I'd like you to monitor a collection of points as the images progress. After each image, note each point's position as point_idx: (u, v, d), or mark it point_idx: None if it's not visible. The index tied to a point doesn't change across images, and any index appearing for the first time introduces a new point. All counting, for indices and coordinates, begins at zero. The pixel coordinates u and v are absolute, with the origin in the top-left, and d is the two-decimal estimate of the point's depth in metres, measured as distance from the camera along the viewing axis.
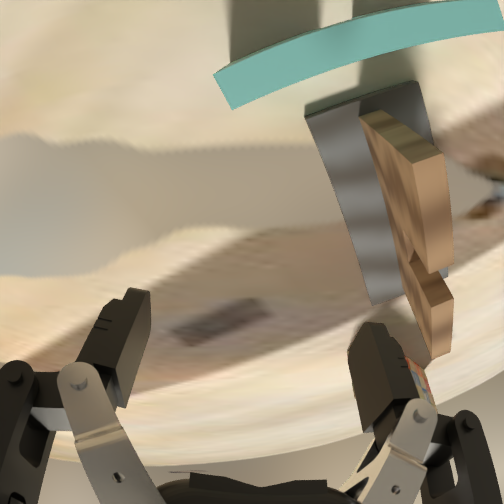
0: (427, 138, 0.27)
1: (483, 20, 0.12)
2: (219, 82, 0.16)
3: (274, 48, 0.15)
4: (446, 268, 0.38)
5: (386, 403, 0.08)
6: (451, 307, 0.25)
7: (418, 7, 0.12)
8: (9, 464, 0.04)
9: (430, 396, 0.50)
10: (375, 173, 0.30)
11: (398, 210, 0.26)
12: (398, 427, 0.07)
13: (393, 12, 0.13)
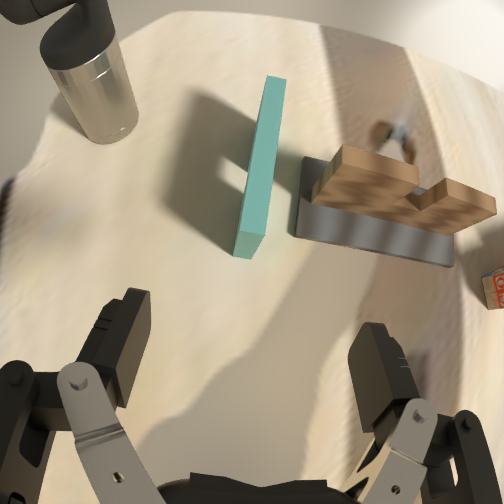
0: None
1: (277, 89, 0.34)
2: (245, 230, 0.30)
3: (246, 194, 0.31)
4: None
5: (386, 403, 0.08)
6: (453, 181, 0.33)
7: (259, 118, 0.33)
8: (9, 464, 0.04)
9: None
10: (353, 213, 0.43)
11: (378, 200, 0.38)
12: (398, 427, 0.07)
13: (257, 132, 0.32)
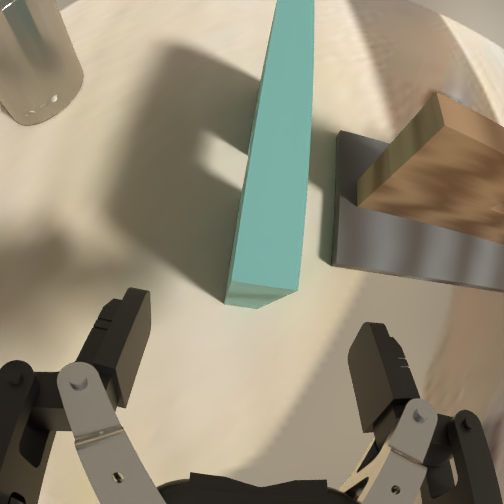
0: None
1: (301, 3, 0.16)
2: (248, 279, 0.11)
3: (247, 185, 0.12)
4: None
5: (386, 403, 0.08)
6: None
7: (272, 39, 0.14)
8: (9, 464, 0.04)
9: None
10: (420, 223, 0.25)
11: (470, 203, 0.20)
12: (398, 427, 0.07)
13: (269, 59, 0.14)
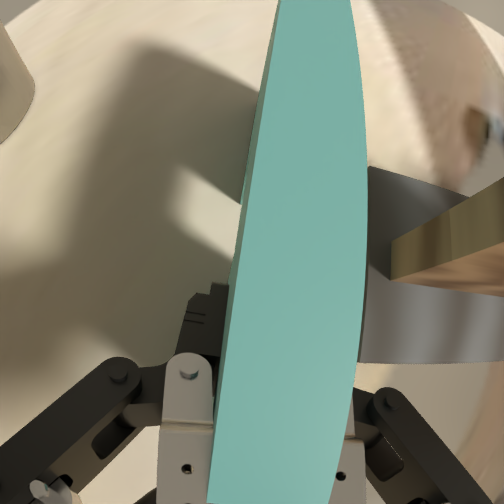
0: (442, 195, 0.19)
1: None
2: None
3: (223, 408, 0.05)
4: None
5: None
6: None
7: (279, 28, 0.07)
8: (73, 451, 0.05)
9: None
10: (464, 293, 0.18)
11: None
12: None
13: (273, 68, 0.07)
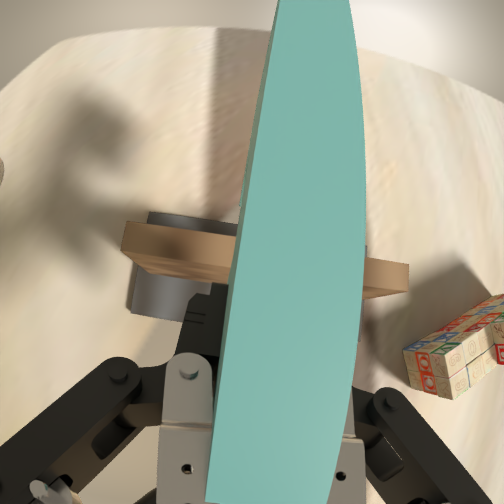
0: (198, 223, 0.37)
1: None
2: None
3: (220, 413, 0.05)
4: None
5: None
6: None
7: (277, 31, 0.07)
8: (74, 451, 0.05)
9: None
10: (204, 283, 0.35)
11: (216, 277, 0.30)
12: None
13: (272, 71, 0.07)
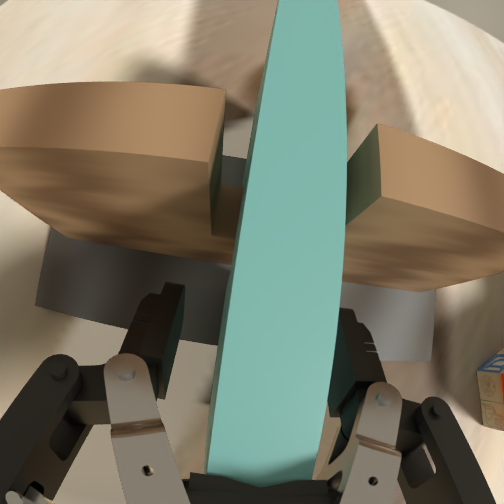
0: None
1: (317, 1, 0.10)
2: None
3: (218, 413, 0.06)
4: None
5: (349, 386, 0.09)
6: (415, 140, 0.08)
7: (270, 65, 0.08)
8: (35, 455, 0.05)
9: None
10: (156, 254, 0.19)
11: (161, 228, 0.13)
12: (363, 415, 0.07)
13: (264, 109, 0.08)
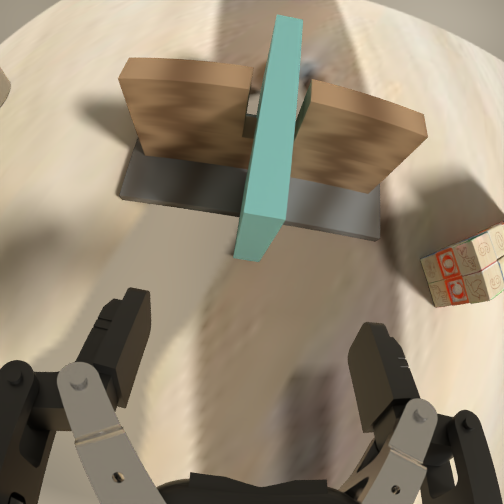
0: None
1: (292, 29, 0.22)
2: (254, 212, 0.18)
3: (253, 157, 0.19)
4: None
5: (386, 403, 0.08)
6: (328, 84, 0.21)
7: (270, 59, 0.21)
8: (9, 464, 0.04)
9: None
10: (203, 163, 0.31)
11: (216, 134, 0.26)
12: (398, 427, 0.07)
13: (267, 74, 0.21)
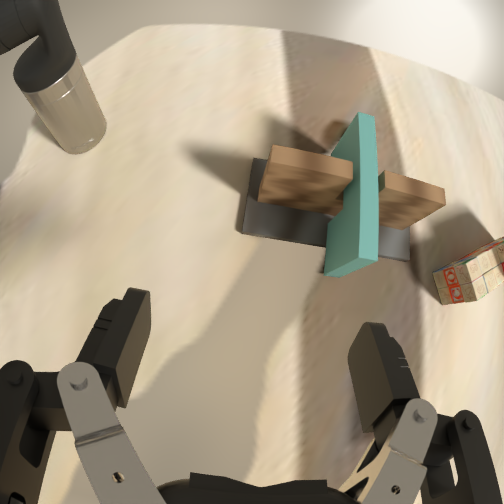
0: None
1: (369, 126, 0.38)
2: (363, 257, 0.33)
3: (360, 225, 0.34)
4: None
5: (386, 403, 0.08)
6: (393, 174, 0.36)
7: (360, 154, 0.36)
8: (9, 464, 0.04)
9: None
10: (299, 210, 0.47)
11: (319, 196, 0.41)
12: (398, 427, 0.07)
13: (361, 167, 0.36)
